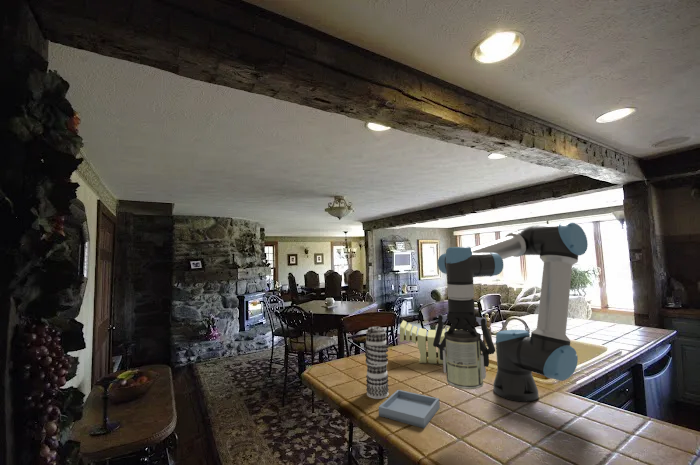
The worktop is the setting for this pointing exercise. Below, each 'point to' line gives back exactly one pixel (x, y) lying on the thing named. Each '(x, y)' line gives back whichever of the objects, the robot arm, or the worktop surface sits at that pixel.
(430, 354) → the slatted curved stool
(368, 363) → the decorative candle
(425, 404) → the tray
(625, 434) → the worktop surface
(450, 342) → the coffee can
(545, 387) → the worktop surface
